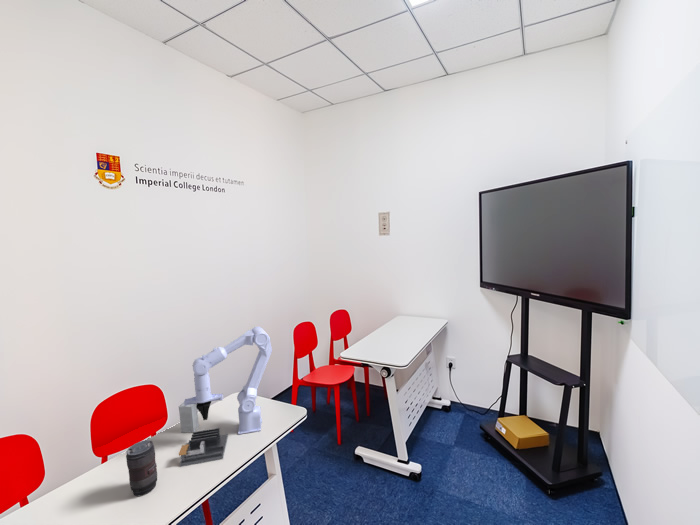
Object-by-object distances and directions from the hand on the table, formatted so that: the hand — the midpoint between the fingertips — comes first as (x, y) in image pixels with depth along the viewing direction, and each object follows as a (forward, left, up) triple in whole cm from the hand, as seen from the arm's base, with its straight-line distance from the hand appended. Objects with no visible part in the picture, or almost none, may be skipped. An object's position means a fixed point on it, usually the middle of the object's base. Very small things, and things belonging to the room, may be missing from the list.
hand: (205, 418), depth 136 cm
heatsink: (-1, +7, -9) cm, 12 cm away
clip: (+3, +11, -8) cm, 14 cm away
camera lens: (+16, +22, -10) cm, 29 cm away
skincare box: (+9, -10, -10) cm, 17 cm away
